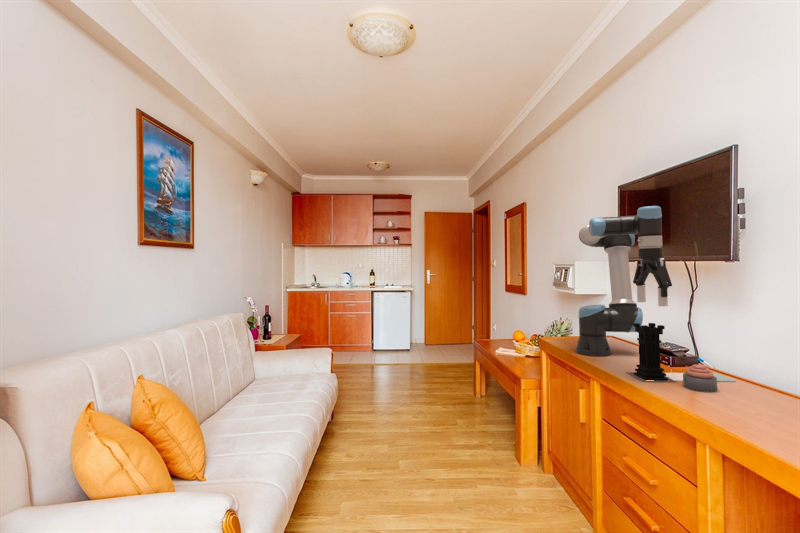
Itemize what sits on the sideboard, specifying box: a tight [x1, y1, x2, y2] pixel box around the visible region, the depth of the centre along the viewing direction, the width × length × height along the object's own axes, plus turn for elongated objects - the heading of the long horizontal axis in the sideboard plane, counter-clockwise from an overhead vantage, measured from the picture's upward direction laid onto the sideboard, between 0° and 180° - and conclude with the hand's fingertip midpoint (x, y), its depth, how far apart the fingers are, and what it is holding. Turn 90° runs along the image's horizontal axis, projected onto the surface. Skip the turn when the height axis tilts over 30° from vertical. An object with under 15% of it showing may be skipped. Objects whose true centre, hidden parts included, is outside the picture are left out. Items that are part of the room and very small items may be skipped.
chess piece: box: [632, 322, 669, 381], centre depth 138 cm, size 8×8×20 cm
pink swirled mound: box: [685, 364, 714, 378], centre depth 125 cm, size 7×7×3 cm
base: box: [682, 372, 718, 393], centre depth 125 cm, size 9×9×4 cm
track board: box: [625, 371, 737, 383], centre depth 137 cm, size 12×32×1 cm, turn 83°
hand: (651, 304), depth 137 cm, fingers open, 13 cm apart
